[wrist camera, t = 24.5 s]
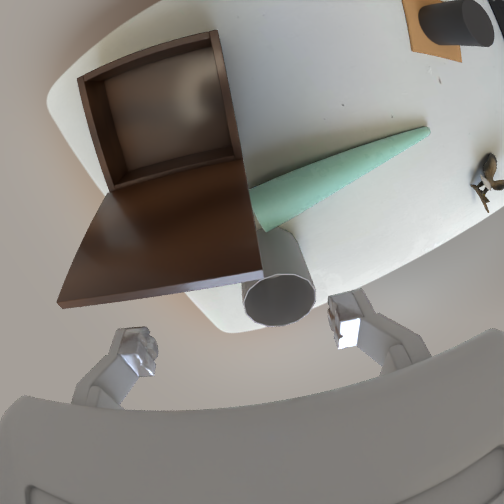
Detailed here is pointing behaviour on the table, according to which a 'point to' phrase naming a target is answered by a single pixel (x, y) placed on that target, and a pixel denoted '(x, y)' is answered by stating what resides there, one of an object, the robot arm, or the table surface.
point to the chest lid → (167, 239)
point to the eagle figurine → (488, 180)
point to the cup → (279, 282)
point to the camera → (498, 12)
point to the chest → (161, 111)
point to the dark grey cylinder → (457, 23)
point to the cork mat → (418, 40)
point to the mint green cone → (324, 178)
